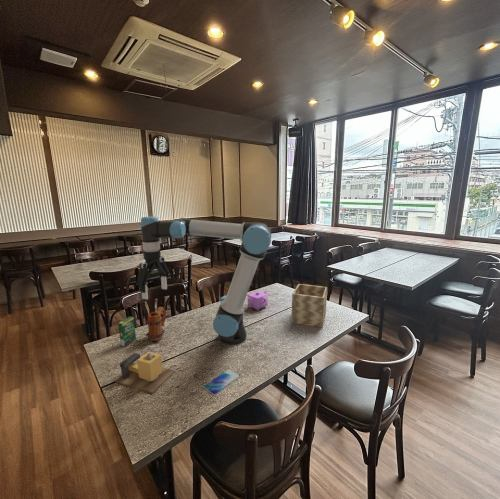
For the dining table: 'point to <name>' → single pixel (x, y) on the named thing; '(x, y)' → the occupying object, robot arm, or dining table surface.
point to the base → (138, 383)
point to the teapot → (258, 300)
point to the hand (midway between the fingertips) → (155, 293)
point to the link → (148, 366)
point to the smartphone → (221, 382)
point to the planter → (309, 305)
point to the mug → (156, 324)
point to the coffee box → (127, 331)
